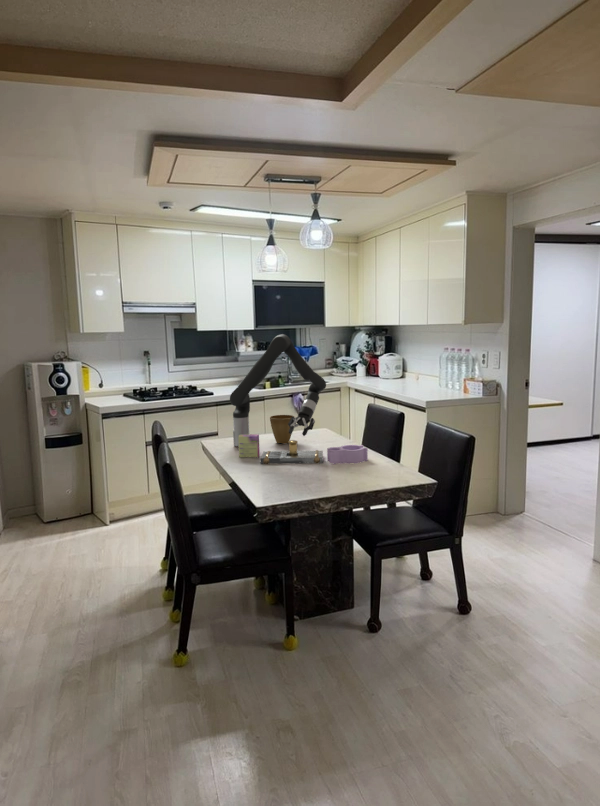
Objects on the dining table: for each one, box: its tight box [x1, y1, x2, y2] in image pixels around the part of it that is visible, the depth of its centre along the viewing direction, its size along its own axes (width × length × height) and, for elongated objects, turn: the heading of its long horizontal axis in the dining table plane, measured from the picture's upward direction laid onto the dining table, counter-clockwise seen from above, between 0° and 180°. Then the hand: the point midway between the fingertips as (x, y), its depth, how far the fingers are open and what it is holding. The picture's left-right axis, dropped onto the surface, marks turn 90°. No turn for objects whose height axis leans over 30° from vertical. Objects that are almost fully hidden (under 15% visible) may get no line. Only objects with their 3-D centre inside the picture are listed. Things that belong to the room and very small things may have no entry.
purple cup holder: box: [326, 444, 369, 465], centre depth 268 cm, size 20×12×7 cm, turn 103°
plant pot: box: [269, 414, 296, 444], centre depth 311 cm, size 15×15×16 cm
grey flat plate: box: [260, 449, 324, 465], centre depth 272 cm, size 32×15×3 cm, turn 88°
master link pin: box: [287, 439, 299, 456], centre depth 272 cm, size 5×5×10 cm
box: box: [238, 433, 261, 458], centre depth 282 cm, size 10×6×12 cm, turn 84°
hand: (296, 434), depth 275 cm, fingers open, 8 cm apart
